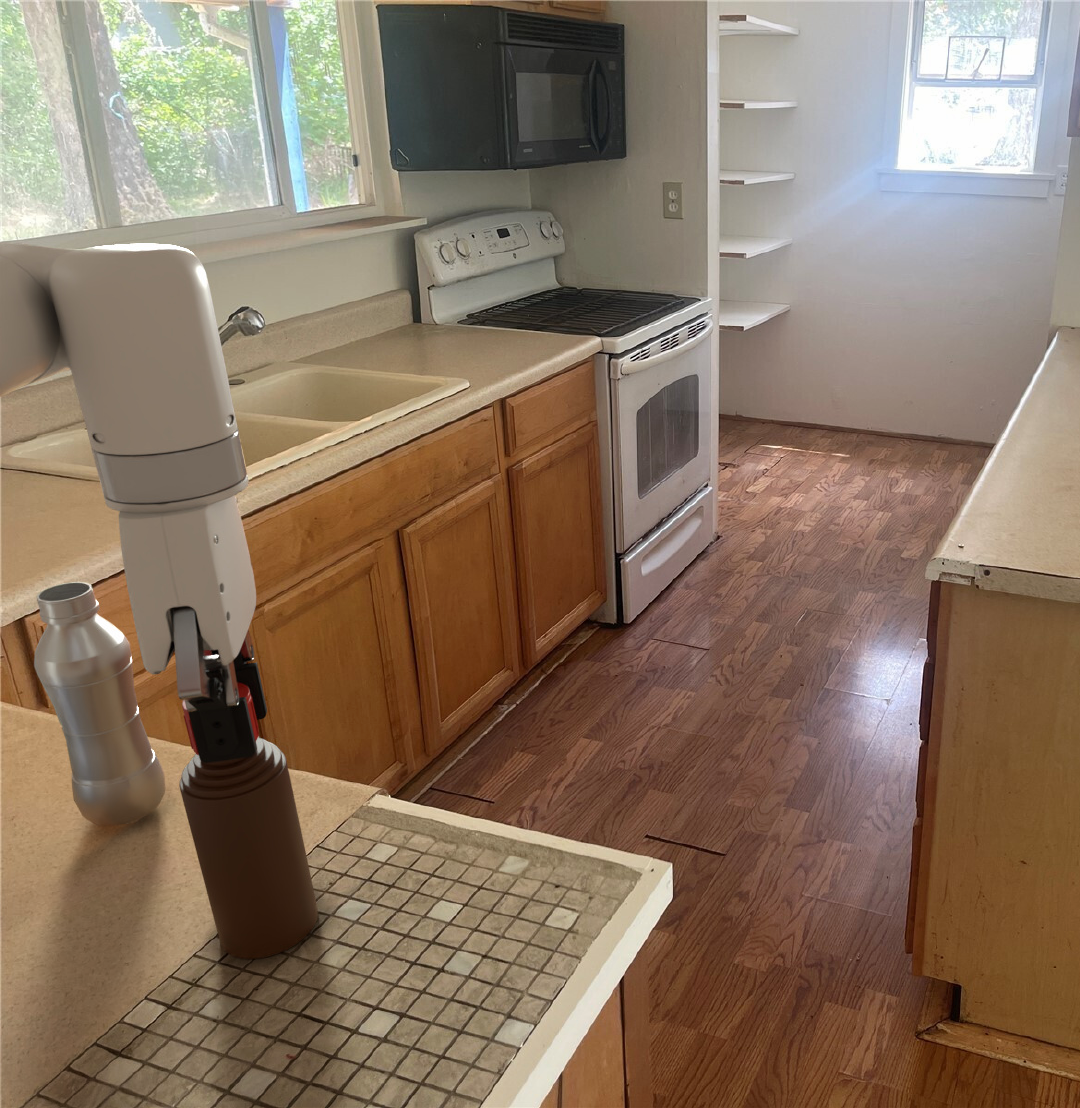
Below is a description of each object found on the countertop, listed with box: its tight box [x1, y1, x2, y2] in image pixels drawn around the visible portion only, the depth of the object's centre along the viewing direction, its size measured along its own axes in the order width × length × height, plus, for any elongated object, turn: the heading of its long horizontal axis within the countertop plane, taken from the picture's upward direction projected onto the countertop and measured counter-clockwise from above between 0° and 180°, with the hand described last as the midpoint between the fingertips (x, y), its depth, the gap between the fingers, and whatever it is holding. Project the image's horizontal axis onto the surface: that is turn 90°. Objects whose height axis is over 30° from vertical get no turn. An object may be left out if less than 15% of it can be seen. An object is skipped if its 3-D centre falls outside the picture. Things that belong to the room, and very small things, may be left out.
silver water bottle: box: [33, 581, 166, 827], centre depth 81 cm, size 6×7×20 cm
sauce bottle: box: [178, 736, 319, 960], centre depth 69 cm, size 6×6×18 cm
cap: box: [181, 682, 260, 755], centre depth 66 cm, size 4×4×3 cm
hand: (235, 735), depth 67 cm, fingers closed on cap, 3 cm apart
